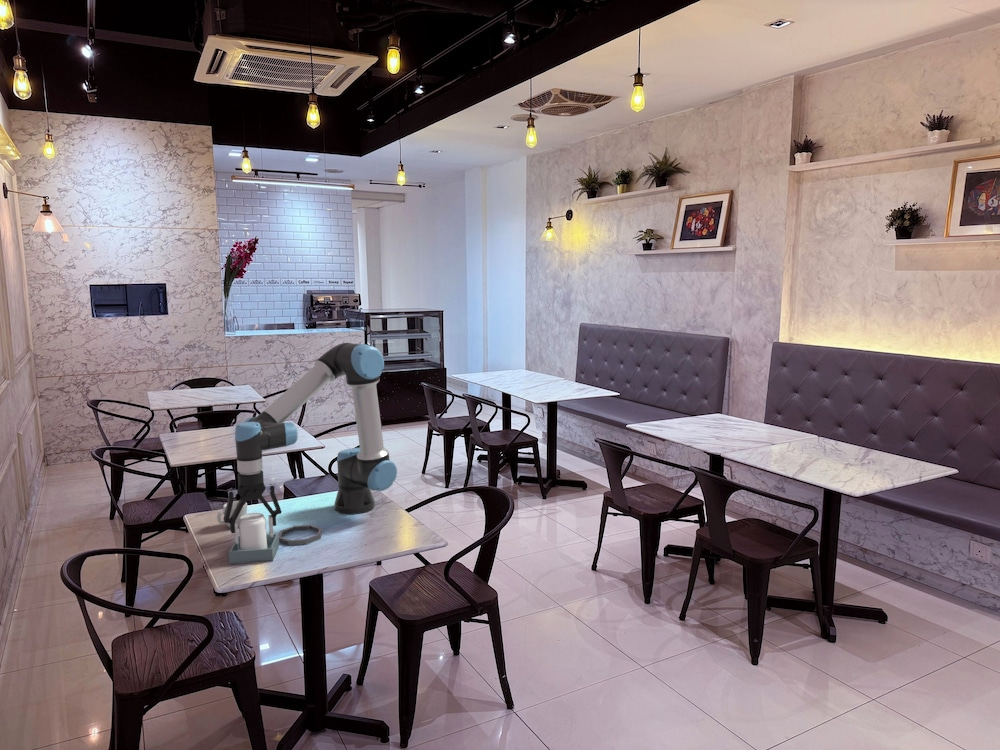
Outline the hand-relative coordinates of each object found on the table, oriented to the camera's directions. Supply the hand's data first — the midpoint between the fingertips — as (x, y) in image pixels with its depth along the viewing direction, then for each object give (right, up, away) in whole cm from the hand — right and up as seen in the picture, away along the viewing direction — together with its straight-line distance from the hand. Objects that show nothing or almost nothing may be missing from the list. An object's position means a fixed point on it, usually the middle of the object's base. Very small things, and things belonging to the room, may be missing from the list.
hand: (254, 538), depth 213 cm
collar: (+10, -3, +15) cm, 18 cm away
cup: (-17, -2, +25) cm, 30 cm away
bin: (0, -5, +1) cm, 5 cm away
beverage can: (0, -5, +1) cm, 5 cm away
